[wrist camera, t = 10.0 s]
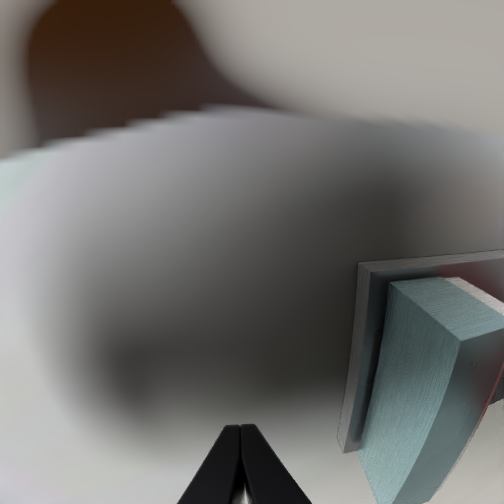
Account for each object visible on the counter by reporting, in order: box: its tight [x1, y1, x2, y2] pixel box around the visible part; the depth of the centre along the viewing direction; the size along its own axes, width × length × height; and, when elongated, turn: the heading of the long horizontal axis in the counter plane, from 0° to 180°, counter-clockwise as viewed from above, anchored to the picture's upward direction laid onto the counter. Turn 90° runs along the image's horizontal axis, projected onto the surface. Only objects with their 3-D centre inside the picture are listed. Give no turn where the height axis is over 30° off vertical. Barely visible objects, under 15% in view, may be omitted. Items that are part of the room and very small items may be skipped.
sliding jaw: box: [357, 276, 504, 504], centre depth 8 cm, size 2×8×4 cm, turn 3°
